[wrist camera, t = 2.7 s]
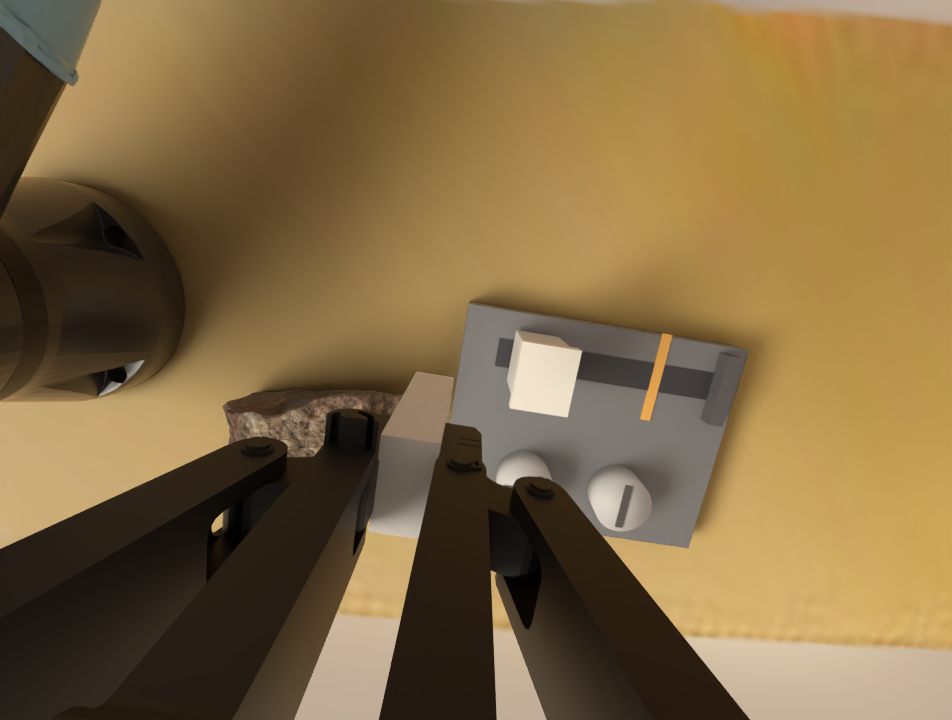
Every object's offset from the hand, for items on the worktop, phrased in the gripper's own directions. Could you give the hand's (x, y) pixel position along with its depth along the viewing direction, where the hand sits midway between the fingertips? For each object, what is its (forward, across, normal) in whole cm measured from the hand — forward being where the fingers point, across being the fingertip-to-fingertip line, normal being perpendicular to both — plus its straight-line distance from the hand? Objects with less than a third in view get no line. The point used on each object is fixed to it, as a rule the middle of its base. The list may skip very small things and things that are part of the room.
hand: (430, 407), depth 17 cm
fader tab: (+13, +6, 0) cm, 15 cm away
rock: (+16, -9, -8) cm, 20 cm away
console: (+16, +11, -5) cm, 20 cm away
